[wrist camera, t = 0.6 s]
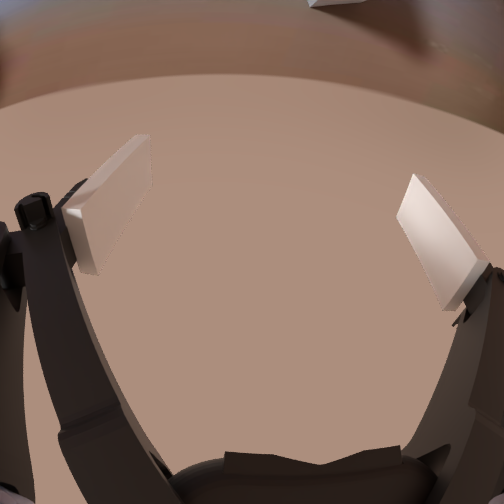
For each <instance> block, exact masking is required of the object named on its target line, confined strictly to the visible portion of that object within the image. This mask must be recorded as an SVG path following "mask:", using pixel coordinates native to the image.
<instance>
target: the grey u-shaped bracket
mask: <svg viewBox="0 0 504 504" xmlns="http://www.w3.org/2000/svg"><path fill="white" fill-rule="evenodd" d="M364 1H366V0H308V3H309V6H310V7H316V6H324V5H335V4H347V3H361V2H364Z"/></svg>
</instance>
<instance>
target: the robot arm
mask: <svg viewBox="0 0 504 504" xmlns="http://www.w3.org/2000/svg"><path fill="white" fill-rule="evenodd" d="M150 141H151V140H150V135H135V136H134V137H133V138H132V139H130V140H129V141H128V142H127V143H126V144H125V145H124V146H122V147H121V148H120V149H119V150H118V151H117V152H116V153H115V154H114V155H113V156H111V157H110V158H109V159H108V160H107V161H106V162H105V163H104V164H103V165H102V166H101V167H100V168H99V169H98V170H97V171H96V172H95V173H94V174H93V175H92V176H91V177H90V178H89V179H84V180H83V181H81V182H79V183H77V184H76V185H75V186H74V187H73V188H72V189H71V190H70V191H69V193H67V194H66V195H65V196H64V198H62V199H61V200H60V202H59V203H58V204H57V205H56V206H55V207H54V208H52V204H51V200H50V196H49V195H48V193H45V192H37V193H33V194H30V195H28V196H26V197H24V198H23V199H21V200H20V201H19V202H18V203H17V204H16V206H15V209H14V211H15V214H16V217H17V219H18V222H19V225H20V228H21V231H15V232H9V231H8V229H7V226H6V224H5V223H4V222H1V221H0V504H35V490H34V479H33V473H32V466H31V461H30V454H29V447H28V440H27V432H26V423H25V410H24V392H23V347H24V329H25V317H26V307H27V299H28V306H29V311H30V317H31V323H32V328H33V333H34V338H35V342H36V347H37V351H38V355H39V359H40V363H41V367H42V370H43V374H44V377H45V380H46V384H47V387H48V390H49V394H50V397H51V400H52V403H53V406H54V408H55V411H56V414H57V417H58V419H59V422H60V425H61V430H60V432H59V433H58V441H59V445H60V448H61V451H62V453H63V456H64V457H65V460H66V462H67V464H68V466H69V469H70V471H71V473H72V475H73V477H74V479H75V481H76V483H77V485H78V487H79V489H80V491H81V492H82V494H83V496H84V498H85V500H86V501H87V503H88V504H504V270H503V269H501V268H498V267H496V268H493V266H492V265H491V263H490V261H489V259H488V258H487V256H486V255H485V253H484V252H483V250H482V249H481V247H480V246H479V245H478V243H477V242H476V240H475V239H474V237H473V236H472V234H471V233H470V232H469V230H468V229H467V228H466V226H465V225H464V224H463V222H462V221H461V220H460V218H459V217H458V216H457V215H456V213H455V212H454V211H453V210H452V208H451V207H450V206H449V204H448V203H447V202H446V201H445V200H444V198H443V197H442V196H441V195H440V194H439V192H438V191H437V190H436V189H435V188H434V187H433V186H432V184H431V183H430V182H429V181H428V180H427V179H426V178H425V177H424V176H420V175H417V174H413V176H412V179H411V181H410V184H409V187H408V189H407V192H406V194H405V197H404V199H403V202H402V204H401V206H400V209H399V211H398V214H397V216H396V218H397V220H398V221H399V223H400V225H401V227H402V229H403V230H404V232H405V234H406V236H407V238H408V239H409V241H410V243H411V245H412V247H413V249H414V251H415V253H416V255H417V257H418V259H419V261H420V262H421V265H422V267H423V268H424V271H425V273H426V275H427V277H428V279H429V281H430V283H431V286H432V288H433V290H434V292H435V294H436V296H437V299H438V301H439V304H440V306H441V308H442V310H443V311H456V309H457V308H458V307H459V305H460V304H461V303H462V301H464V303H465V305H466V308H465V309H464V310H463V312H462V313H461V314H460V315H459V317H458V318H457V319H456V320H455V322H454V323H453V324H452V326H453V327H454V326H455V325H456V324H458V327H457V330H456V334H455V337H454V340H453V343H452V346H451V349H450V352H449V355H448V358H447V360H446V364H445V366H444V369H443V371H442V374H441V376H440V379H439V381H438V384H437V386H436V389H435V391H434V393H433V396H432V398H431V400H430V403H429V405H428V407H427V409H426V411H425V414H424V416H423V418H422V420H421V422H420V424H419V426H418V428H417V430H416V432H415V434H414V436H413V437H412V439H411V441H410V442H409V443H408V445H407V446H406V447H405V448H404V449H403V450H401V449H400V445H398V446H392V447H387V448H379V449H373V450H364V451H362V452H359V453H356V454H353V455H350V456H348V457H345V458H342V459H339V460H336V461H333V462H330V463H327V464H323V465H317V464H312V463H307V462H302V461H298V460H293V459H289V458H285V457H281V456H277V455H273V454H251V453H250V454H249V453H237V452H225V454H224V458H220V459H213V460H209V461H205V462H201V463H198V464H195V465H192V466H190V467H188V468H186V469H184V470H181V471H180V472H178V473H177V474H175V475H173V474H172V472H171V471H170V469H169V468H168V467H167V465H166V464H165V462H164V461H163V459H162V458H161V456H160V455H159V453H158V452H157V450H156V449H155V448H154V446H153V445H152V443H151V442H150V440H149V439H148V437H147V436H146V434H145V432H144V431H143V429H142V427H141V426H140V424H139V422H138V421H137V419H136V417H135V415H134V413H133V412H132V410H131V408H130V406H129V404H128V403H127V401H126V399H125V397H124V395H123V393H122V391H121V389H120V387H119V385H118V383H117V381H116V379H115V377H114V375H113V373H112V371H111V369H110V366H109V364H108V362H107V360H106V358H105V355H104V354H103V351H102V349H101V346H100V344H99V342H98V339H97V337H96V334H95V332H94V329H93V327H92V325H91V322H90V319H89V317H88V314H87V311H86V309H85V306H84V303H83V301H82V298H81V295H80V292H79V289H78V286H77V283H76V280H75V276H74V273H73V271H72V267H73V265H74V264H75V262H76V261H77V263H78V266H79V269H80V272H81V273H85V274H91V275H97V276H98V275H99V273H100V271H101V270H102V268H103V266H104V264H105V262H106V260H107V259H108V257H109V255H110V253H111V252H112V250H113V248H114V246H115V244H116V243H117V241H118V239H119V238H120V236H121V234H122V233H123V231H124V229H125V227H126V226H127V224H128V223H129V221H130V219H131V218H132V216H133V215H134V213H135V211H136V210H137V208H138V207H139V205H140V203H141V202H142V200H143V199H144V197H145V196H146V194H147V193H148V191H149V190H150V188H151V187H152V167H151V142H150Z"/></svg>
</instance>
